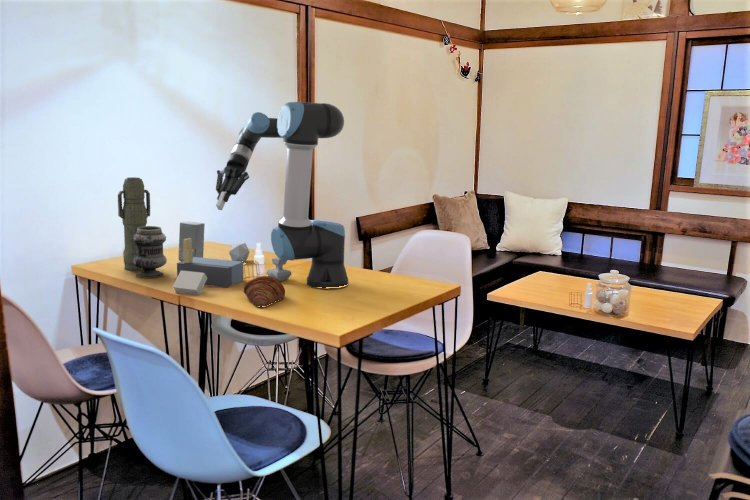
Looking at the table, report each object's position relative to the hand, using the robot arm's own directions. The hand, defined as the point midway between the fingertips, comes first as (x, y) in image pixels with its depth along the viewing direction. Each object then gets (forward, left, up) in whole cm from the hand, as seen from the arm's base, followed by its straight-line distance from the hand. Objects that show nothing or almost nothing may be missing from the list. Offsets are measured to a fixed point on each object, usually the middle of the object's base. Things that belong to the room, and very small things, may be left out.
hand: (219, 207), depth 243 cm
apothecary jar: (+17, +19, -26) cm, 37 cm away
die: (+19, -21, -26) cm, 39 cm away
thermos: (+31, +18, -26) cm, 45 cm away
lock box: (-4, +6, -26) cm, 27 cm away
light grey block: (-14, +20, -22) cm, 33 cm away
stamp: (-17, -15, -26) cm, 35 cm away
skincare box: (+33, -7, -26) cm, 43 cm away
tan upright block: (0, +13, -19) cm, 23 cm away
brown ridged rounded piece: (-36, +5, -27) cm, 45 cm away
